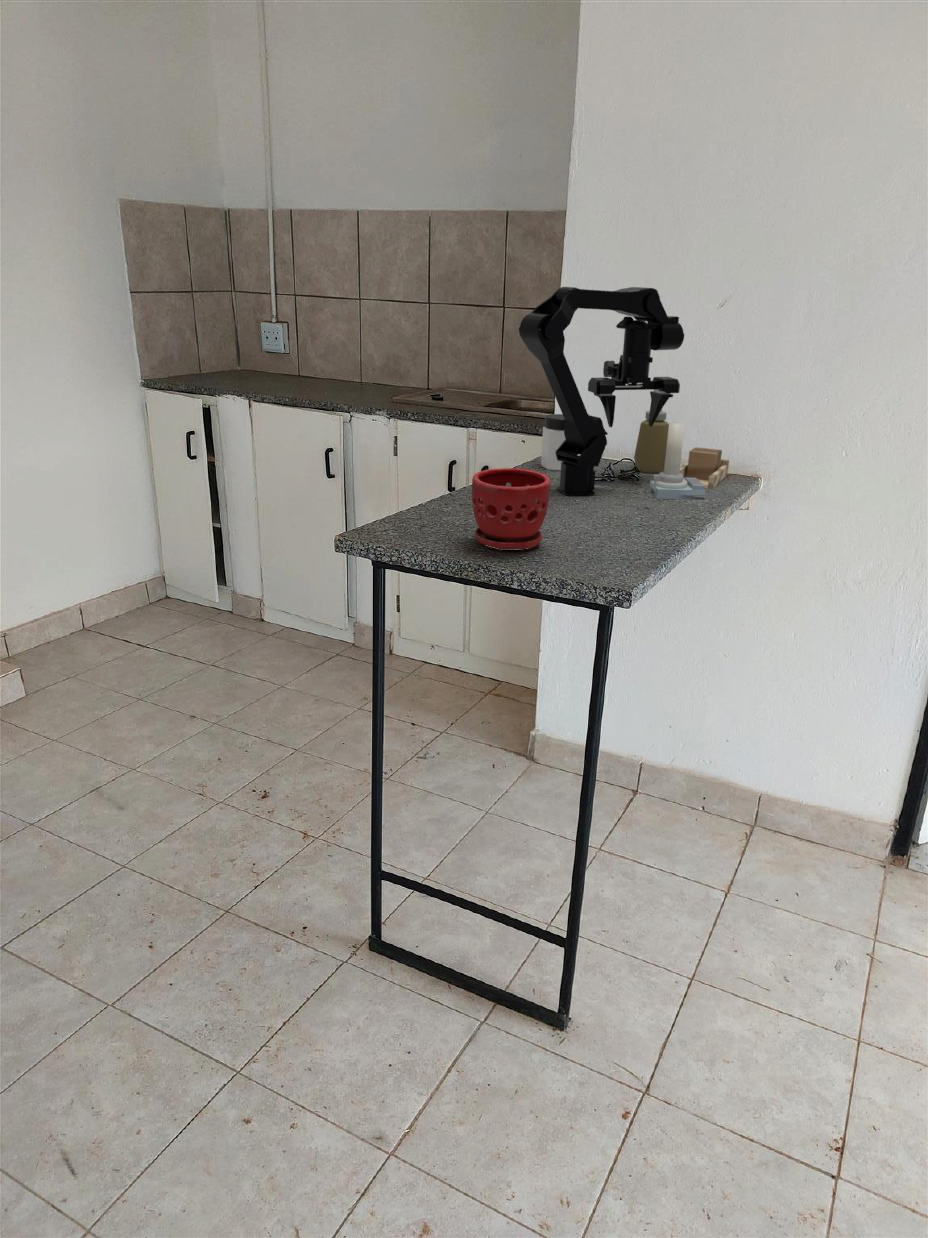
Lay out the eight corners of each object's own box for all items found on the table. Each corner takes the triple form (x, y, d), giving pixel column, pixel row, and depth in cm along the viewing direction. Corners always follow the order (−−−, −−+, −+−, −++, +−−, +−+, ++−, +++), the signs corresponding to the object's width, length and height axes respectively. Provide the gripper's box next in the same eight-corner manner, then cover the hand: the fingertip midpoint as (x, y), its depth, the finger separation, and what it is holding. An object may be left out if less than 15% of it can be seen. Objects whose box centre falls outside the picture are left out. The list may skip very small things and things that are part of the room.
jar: (560, 472, 209) (563, 420, 205) (534, 466, 215) (536, 416, 210) (584, 467, 215) (588, 417, 211) (558, 462, 221) (561, 412, 216)
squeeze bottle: (627, 470, 213) (634, 393, 207) (659, 470, 215) (667, 393, 208) (639, 478, 206) (647, 398, 199) (673, 477, 207) (681, 398, 201)
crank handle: (679, 478, 193) (686, 421, 188) (685, 483, 188) (691, 425, 184) (651, 477, 193) (657, 421, 188) (656, 482, 188) (662, 425, 184)
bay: (711, 493, 193) (714, 472, 192) (670, 488, 197) (672, 467, 195) (726, 479, 207) (729, 460, 205) (687, 474, 211) (690, 455, 209)
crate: (713, 480, 200) (716, 454, 198) (686, 477, 203) (689, 451, 201) (718, 476, 205) (722, 449, 203) (692, 472, 208) (695, 447, 206)
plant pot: (455, 541, 155) (456, 472, 151) (513, 530, 163) (515, 464, 158) (503, 560, 146) (506, 488, 141) (562, 547, 153) (567, 478, 149)
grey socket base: (656, 498, 188) (658, 484, 187) (649, 489, 195) (650, 476, 194) (704, 499, 188) (706, 485, 187) (694, 490, 195) (696, 477, 194)
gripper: (661, 347, 197) (655, 419, 202) (581, 347, 193) (576, 421, 198) (684, 352, 187) (676, 427, 192) (600, 352, 183) (594, 430, 188)
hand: (630, 426), depth 193 cm, fingers open, 9 cm apart
